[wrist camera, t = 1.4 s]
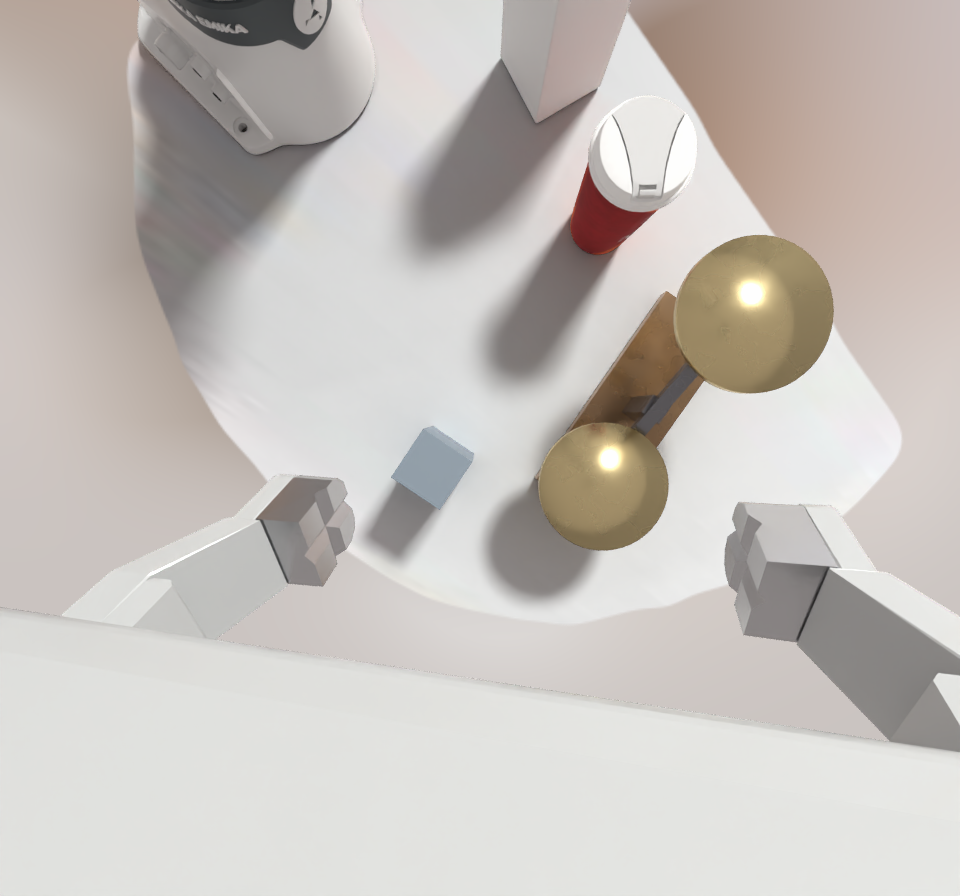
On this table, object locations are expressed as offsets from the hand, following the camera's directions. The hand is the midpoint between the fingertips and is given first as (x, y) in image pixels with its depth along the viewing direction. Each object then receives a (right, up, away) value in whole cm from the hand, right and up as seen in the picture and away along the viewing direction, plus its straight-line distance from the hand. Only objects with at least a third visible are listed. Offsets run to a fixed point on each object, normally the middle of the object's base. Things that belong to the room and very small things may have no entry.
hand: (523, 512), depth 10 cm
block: (-5, 0, +38) cm, 39 cm away
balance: (+14, +5, +38) cm, 41 cm away
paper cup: (+11, +23, +37) cm, 45 cm away
